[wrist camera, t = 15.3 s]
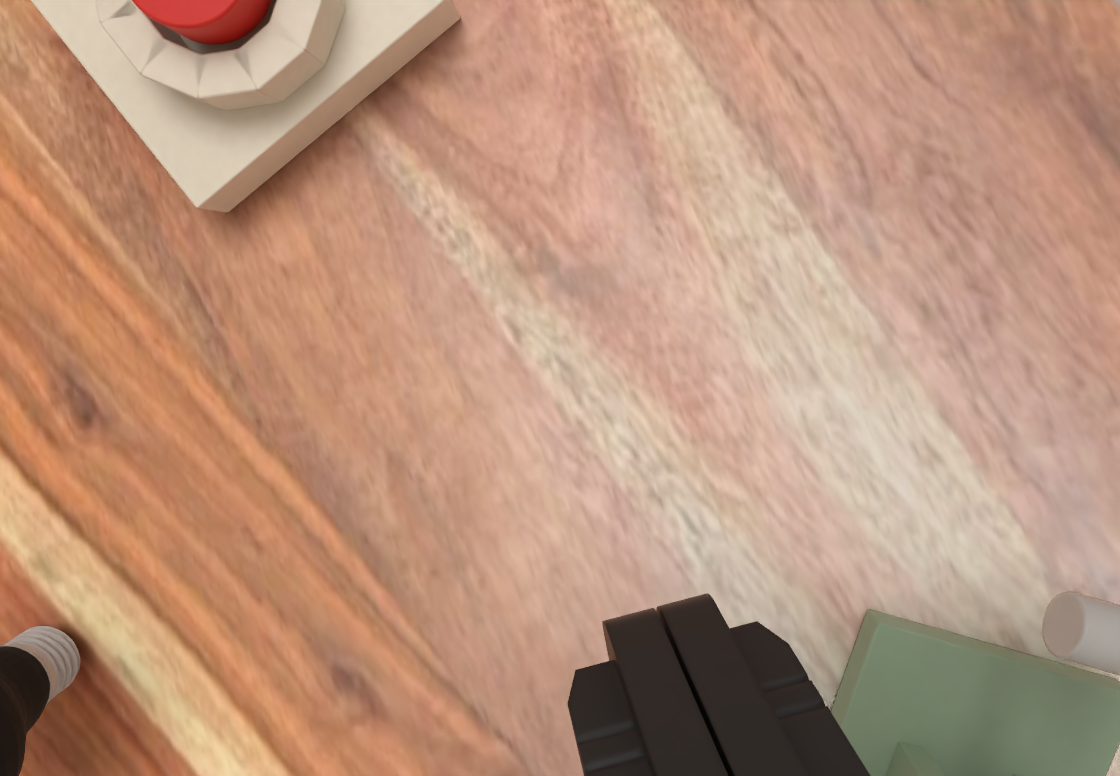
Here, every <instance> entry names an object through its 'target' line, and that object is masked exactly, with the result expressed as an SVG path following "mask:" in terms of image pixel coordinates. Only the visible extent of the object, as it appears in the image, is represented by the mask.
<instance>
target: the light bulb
mask: <svg viewBox="0 0 1120 776" xmlns="http://www.w3.org/2000/svg"><path fill="white" fill-rule="evenodd" d="M79 668H80V655H79V652H78V649H77V647H76V645H75V643H74V642H73V640H72V639H71V638H70V637H69V636H68V635H66V634H65V633H64V632H62V631H60V630H58V629H56V628H53V627H48V626H36V627H33V628H30V629H28V630H26V631H24V632H23V633H21V634H19V635H18V636H16V637H15V638H13V639H12V640H10V641H9V642H7V643H6V644H4V645H3V646H0V776H19V774H20V771H21V768H22V764H23V760H24V753H25V742H26V734H27V732H28V731H29V730H30V729H31V727H32V726H33V725H34V724H35V722H36V721H37V720H38V719H39V717H40V715H41V714H42V712H43V710H44V708H45V707H46V706H47V704H48V702H49V701H50V700H51V699H53V698H54V697H56V696H57V694H59V693H60V692H62V691H63V690H64V689H65V688H67V687H68V686H69V685H70V684H71V683H72V681H73V680H74V678H75V677H76V675H77V673H78V671H79Z"/></svg>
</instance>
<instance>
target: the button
mask: <svg viewBox="0 0 1120 776" xmlns="http://www.w3.org/2000/svg"><path fill="white" fill-rule="evenodd" d="M271 1H272V0H132V2H133V3H134V4H135V5H136V6H137V7H138V8H139V9H140V10H141V11H142V12H143V13H144V14H146V15H147V16H148V17H150V18H151V19H153V20H155V21H156V22H158V23H160V24H162V25H164V26H165V27H167V28H169V29H171V30H173V31H175V32H176V33H178V34H180V35H182V36H184V37H186V38H188V39H190V40H192V41H195V42H198V43H203V44H211V45H218V44H225V43H230V42H233V41H236V40H238V39H240V38H242V37H244V36H246V35H247V34H248V33H250V32H251V31H252V30H253V29H254V28H255V27H256V26H257V25H258V24H259V23H260V22H261V21H262V19H263V18H264V16H265V15H266V13H267V11H268V9H269V6H270V4H271Z"/></svg>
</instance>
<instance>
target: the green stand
mask: <svg viewBox="0 0 1120 776" xmlns="http://www.w3.org/2000/svg"><path fill="white" fill-rule="evenodd" d="M831 713H832V715H833V716H834V718H835V719H836V721H837V723H838V724H839V726H840V727H841V729H842V731H843V732H844V734H845V736H846V737H847V739H848V740H849V742H850V744H851V745H852V747H853V748H854V750H855V752H856V753H857V755H858V756H859V758H860V760H861V761H862V763H863V764H864V766H865V768H866V769H867V771H868V772H869V774H870V776H1106V774H1107V772H1108V770H1109V767H1110V765H1111V762H1112V760H1113V758H1114V755H1115V753H1116V751H1117V748H1118V746H1119V743H1120V681H1118V680H1117V679H1113V678H1110V677H1106V676H1103V675H1099V674H1096V673H1092V672H1089V671H1085V670H1082V669H1078V668H1075V667H1071V666H1067V665H1064V664H1060V663H1057V662H1053V661H1050V660H1046V659H1043V658H1039V657H1036V656H1032V655H1029V654H1025V653H1022V652H1018V651H1015V650H1011V649H1008V648H1004V647H1001V646H997V645H994V644H990V643H986V642H983V641H979V640H976V639H972V638H969V637H965V636H962V635H958V634H955V633H951V632H948V631H944V630H941V629H937V628H934V627H930V626H927V625H923V624H920V623H916V622H913V621H909V620H905V619H902V618H898V617H895V616H891V615H888V614H884V613H881V612H877V611H874V610H870V609H869V610H867V612H866V615H865V617H864V620H863V623H862V626H861V629H860V631H859V634H858V637H857V640H856V643H855V645H854V648H853V651H852V654H851V657H850V659H849V662H848V665H847V668H846V670H845V673H844V676H843V679H842V682H841V684H840V687H839V690H838V693H837V696H836V698H835V701H834V704H833V707H832V710H831Z"/></svg>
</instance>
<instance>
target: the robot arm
mask: <svg viewBox="0 0 1120 776" xmlns="http://www.w3.org/2000/svg"><path fill="white" fill-rule="evenodd" d="M603 630H604V636H605V641H606V646H607V651H608V656H609V661H608V662H604V663H600V664H597V665H593V666H589V667H585V668H582V669H578V670H576V671H575V675H574V679H573V683H572V687H571V692H570V696H569V700H568V708H569V712H570V716H571V721H572V725H573V729H574V734H575V738H576V742H577V747H578V751H579V755H580V760H581V764H582V769H583V773H584V776H870V774H869V772H868V771H867V769H866V768H865V766H864V764H863V763H862V761H861V760H860V758H859V756H858V755H857V753H856V752H855V750H854V748H853V747H852V745H851V744H850V742H849V740H848V739H847V737H846V736H845V734H844V732H843V731H842V729H841V727H840V726H839V724H838V723H837V721H836V719H835V718H834V716H833V715H832V713H831V711H830V710H829V708H828V707H826V706H825V704H824V701H823V699H822V697H821V695H820V694H819V692H818V691H817V689H816V687H815V686H814V684H813V683H812V681H809V679H808V676H807V673H806V671H805V670H804V668H803V667H802V665H801V663H800V662H799V660H798V659H797V657H796V655H795V654H794V652H793V651H792V649H791V647H790V646H789V644H788V643H787V642H785V641H784V640H782V639H781V638H780V637H778V636H777V635H775V634H774V633H773V632H771V631H770V630H769V629H767V628H766V627H764V626H763V625H762V624H760V623H759V622H757V621H756V622H753V623H749V624H745V625H741V626H738V627H734V628H730V629H729V627H728V626H727V624H726V622H725V620H724V618H723V616H722V614H721V613H720V611H719V609H718V607H717V605H716V603H715V602H714V600H713V598H712V597H711V596H710V595H709V594H703V595H700V596H696V597H692V598H688V599H684V600H681V601H677V602H673V603H669V604H665V605H662V606H658V607H657V609H656V610H655V609H654V608H651V609H647V610H643V611H640V612H636V613H632V614H628V615H624V616H621V617H617V618H613V619H609V620H605V621H603Z"/></svg>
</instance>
